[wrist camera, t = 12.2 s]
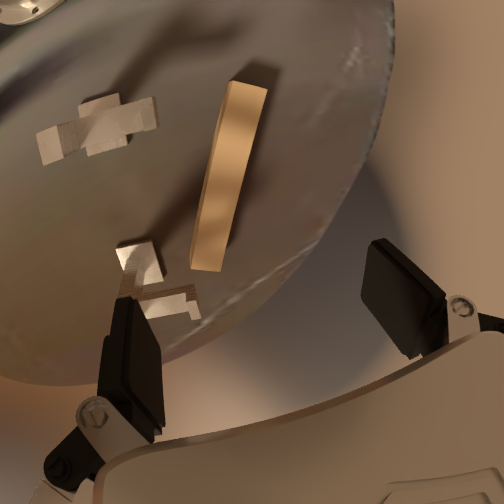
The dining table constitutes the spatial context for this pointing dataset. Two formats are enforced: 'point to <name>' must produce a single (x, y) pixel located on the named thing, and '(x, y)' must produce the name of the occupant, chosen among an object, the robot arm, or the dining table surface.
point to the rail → (225, 173)
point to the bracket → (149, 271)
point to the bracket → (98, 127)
